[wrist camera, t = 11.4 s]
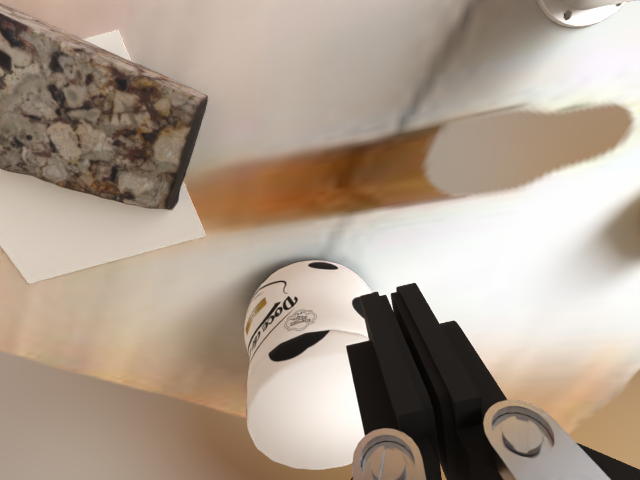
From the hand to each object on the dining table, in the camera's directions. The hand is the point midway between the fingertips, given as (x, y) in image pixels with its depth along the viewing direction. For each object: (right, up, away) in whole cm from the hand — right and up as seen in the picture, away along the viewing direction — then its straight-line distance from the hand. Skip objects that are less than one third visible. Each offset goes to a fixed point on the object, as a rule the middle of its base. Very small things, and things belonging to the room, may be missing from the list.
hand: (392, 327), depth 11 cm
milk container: (-4, -6, +39) cm, 40 cm away
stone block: (-15, +11, +26) cm, 32 cm away
